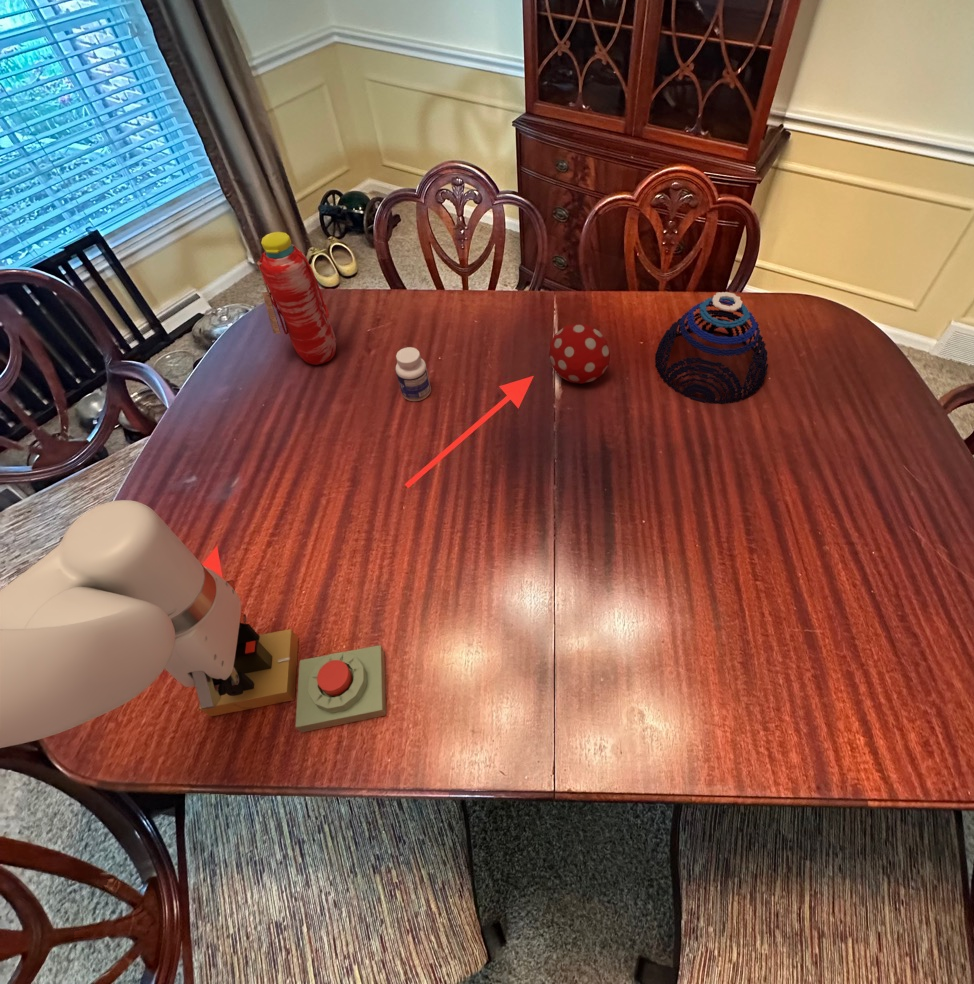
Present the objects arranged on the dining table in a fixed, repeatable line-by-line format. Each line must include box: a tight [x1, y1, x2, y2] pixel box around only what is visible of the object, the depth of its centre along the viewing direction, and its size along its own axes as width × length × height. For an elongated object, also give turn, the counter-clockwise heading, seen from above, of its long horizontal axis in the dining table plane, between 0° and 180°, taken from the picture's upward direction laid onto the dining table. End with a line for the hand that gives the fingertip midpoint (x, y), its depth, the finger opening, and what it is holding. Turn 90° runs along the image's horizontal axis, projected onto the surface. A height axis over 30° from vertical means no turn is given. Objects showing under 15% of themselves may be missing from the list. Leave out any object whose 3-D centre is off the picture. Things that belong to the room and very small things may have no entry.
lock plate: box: [198, 628, 300, 718], centre depth 74 cm, size 10×8×3 cm
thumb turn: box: [234, 640, 272, 674], centre depth 71 cm, size 6×2×5 cm, turn 101°
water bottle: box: [256, 231, 337, 366], centre depth 105 cm, size 12×8×25 cm, turn 86°
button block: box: [294, 644, 387, 734], centre depth 73 cm, size 10×8×4 cm
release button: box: [317, 660, 352, 696], centre depth 71 cm, size 4×4×2 cm
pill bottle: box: [395, 346, 432, 402], centre depth 105 cm, size 5×5×9 cm
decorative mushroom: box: [548, 323, 611, 385], centre depth 109 cm, size 11×11×15 cm
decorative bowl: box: [654, 291, 769, 405], centre depth 106 cm, size 20×20×14 cm
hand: (243, 664), depth 73 cm, fingers open, 5 cm apart
